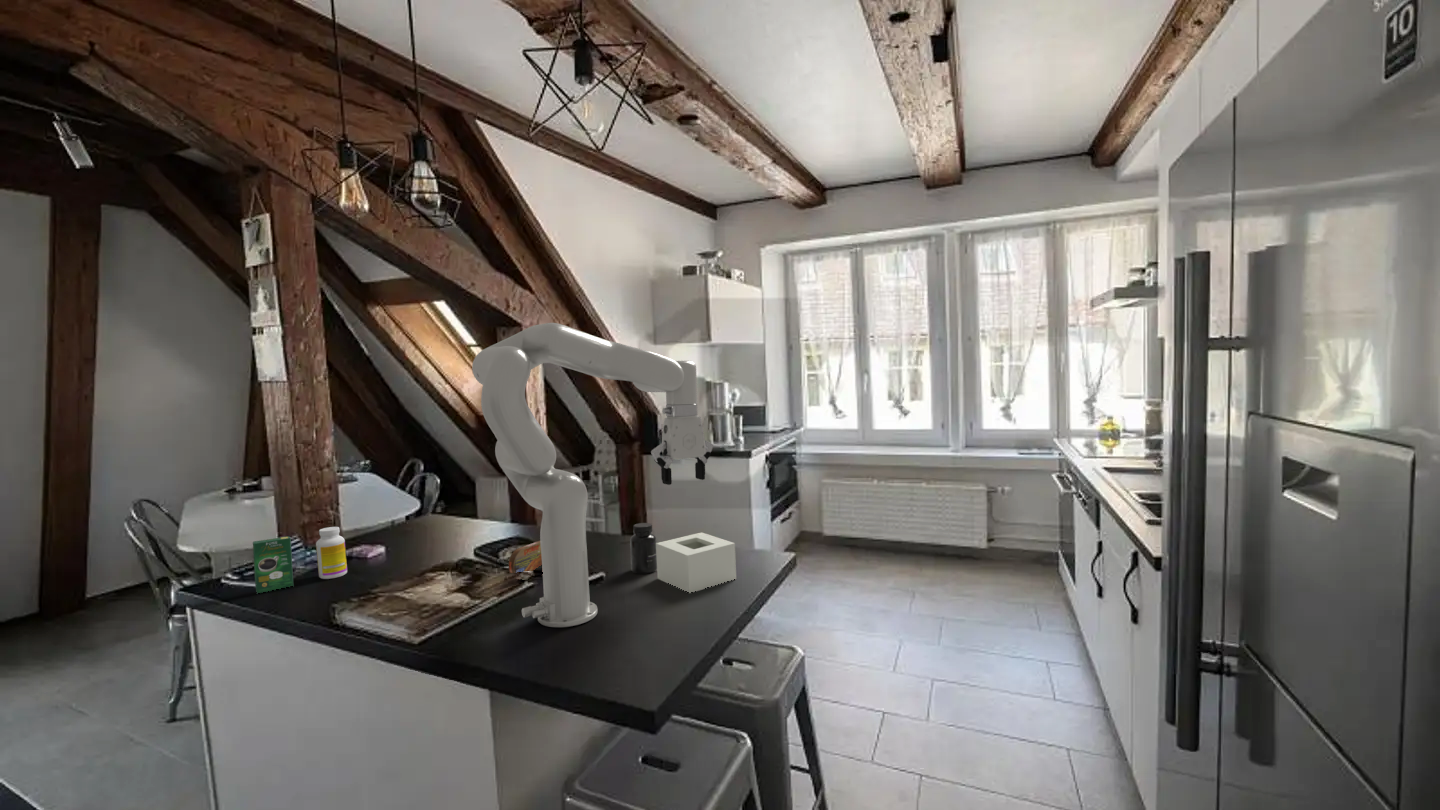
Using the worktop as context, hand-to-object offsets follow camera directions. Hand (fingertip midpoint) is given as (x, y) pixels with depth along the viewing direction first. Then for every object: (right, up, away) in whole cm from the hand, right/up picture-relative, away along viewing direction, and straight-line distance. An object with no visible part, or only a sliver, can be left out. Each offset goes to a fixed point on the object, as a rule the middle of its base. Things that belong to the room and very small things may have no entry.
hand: (683, 481), depth 158 cm
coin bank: (+3, -24, +2) cm, 25 cm away
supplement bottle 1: (-96, -28, +17) cm, 101 cm away
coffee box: (-105, -29, +7) cm, 109 cm away
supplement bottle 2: (-11, -25, +11) cm, 29 cm away
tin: (-39, -26, +10) cm, 48 cm away
